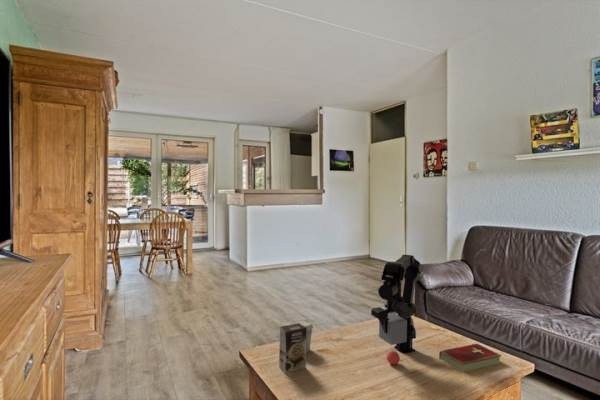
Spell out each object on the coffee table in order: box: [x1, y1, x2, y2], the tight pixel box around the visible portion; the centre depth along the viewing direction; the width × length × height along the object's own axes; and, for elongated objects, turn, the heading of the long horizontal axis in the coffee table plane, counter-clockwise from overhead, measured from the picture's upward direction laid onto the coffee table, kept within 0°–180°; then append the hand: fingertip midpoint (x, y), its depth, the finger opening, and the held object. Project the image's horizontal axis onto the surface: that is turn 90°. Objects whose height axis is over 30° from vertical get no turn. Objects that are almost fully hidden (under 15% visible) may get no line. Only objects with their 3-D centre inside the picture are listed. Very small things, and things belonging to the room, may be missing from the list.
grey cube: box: [378, 313, 407, 346], centre depth 136 cm, size 8×8×9 cm
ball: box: [386, 350, 401, 365], centre depth 135 cm, size 5×5×5 cm
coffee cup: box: [294, 319, 314, 354], centre depth 147 cm, size 8×8×12 cm
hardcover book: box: [438, 343, 502, 372], centre depth 139 cm, size 12×21×4 cm, turn 111°
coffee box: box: [278, 323, 307, 374], centre depth 132 cm, size 9×6×16 cm
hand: (393, 331), depth 136 cm, fingers closed on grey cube, 8 cm apart
